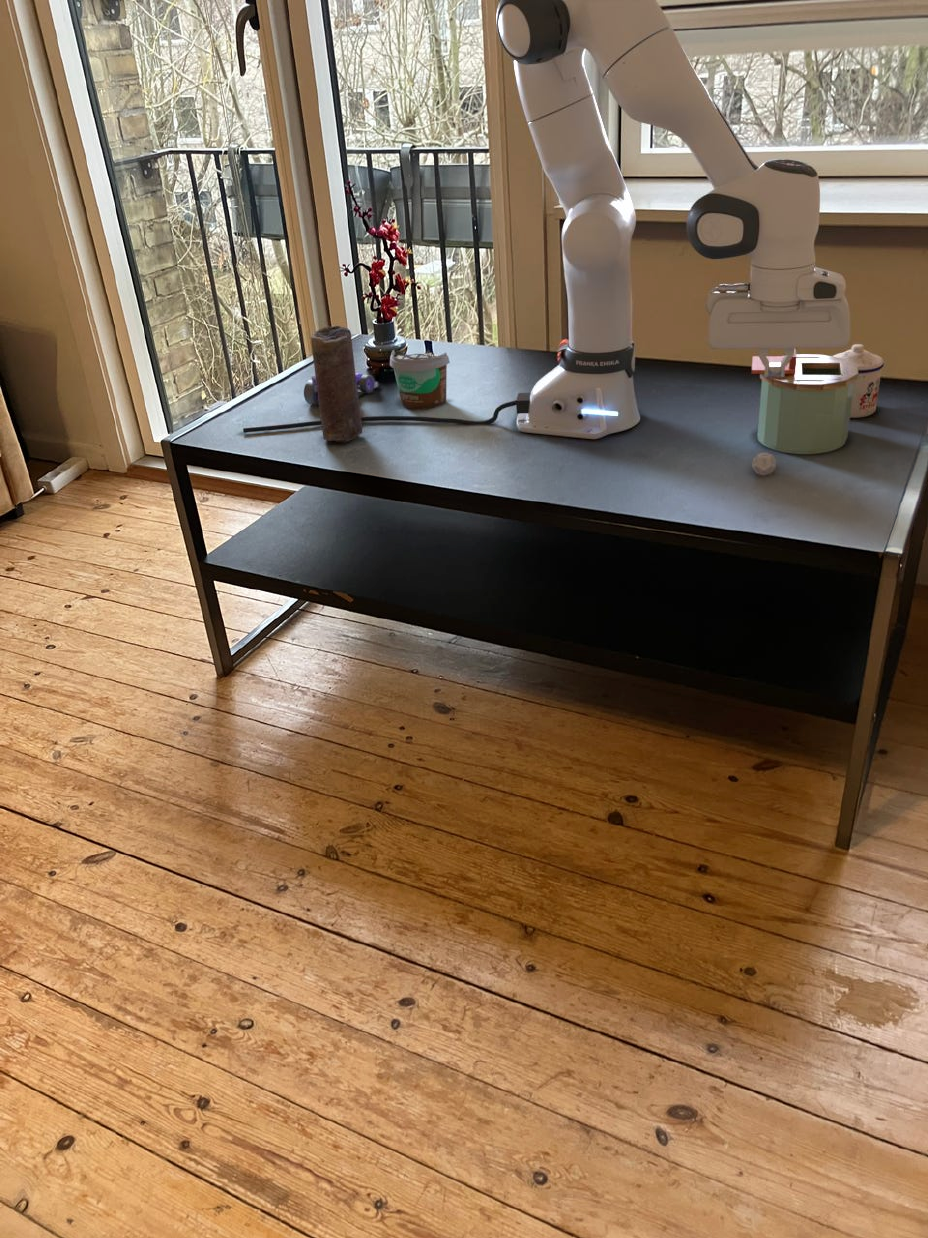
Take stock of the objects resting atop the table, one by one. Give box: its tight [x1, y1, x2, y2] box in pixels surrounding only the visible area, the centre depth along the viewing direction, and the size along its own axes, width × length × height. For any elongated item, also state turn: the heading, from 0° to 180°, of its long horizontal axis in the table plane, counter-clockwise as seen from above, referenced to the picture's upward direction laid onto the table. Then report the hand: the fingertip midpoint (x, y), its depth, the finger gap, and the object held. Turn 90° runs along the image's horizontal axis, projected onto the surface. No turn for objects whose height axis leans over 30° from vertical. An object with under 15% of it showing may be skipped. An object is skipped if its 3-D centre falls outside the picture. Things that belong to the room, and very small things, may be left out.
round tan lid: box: [759, 353, 859, 390], centre depth 165 cm, size 15×15×1 cm
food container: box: [389, 349, 450, 410], centre depth 197 cm, size 12×6×10 cm, turn 68°
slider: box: [751, 348, 797, 375], centre depth 165 cm, size 7×7×3 cm
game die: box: [751, 452, 777, 476], centre depth 160 cm, size 4×4×3 cm
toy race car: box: [303, 372, 379, 406], centre depth 205 cm, size 10×15×6 cm, turn 152°
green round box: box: [756, 369, 855, 455], centre depth 168 cm, size 14×14×11 cm
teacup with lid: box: [831, 343, 885, 419], centre depth 178 cm, size 12×9×12 cm
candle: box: [310, 325, 363, 443], centre depth 182 cm, size 8×7×20 cm
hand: (774, 376), depth 152 cm, fingers closed
